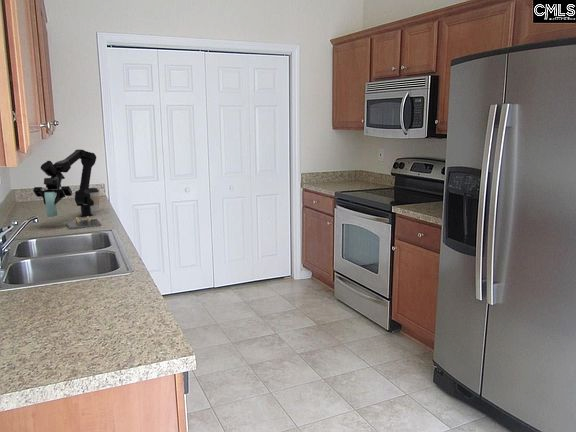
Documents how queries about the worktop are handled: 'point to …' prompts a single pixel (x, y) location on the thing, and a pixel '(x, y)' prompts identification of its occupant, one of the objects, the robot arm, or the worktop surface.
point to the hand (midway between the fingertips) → (49, 204)
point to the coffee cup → (94, 199)
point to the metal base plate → (83, 223)
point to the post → (50, 204)
